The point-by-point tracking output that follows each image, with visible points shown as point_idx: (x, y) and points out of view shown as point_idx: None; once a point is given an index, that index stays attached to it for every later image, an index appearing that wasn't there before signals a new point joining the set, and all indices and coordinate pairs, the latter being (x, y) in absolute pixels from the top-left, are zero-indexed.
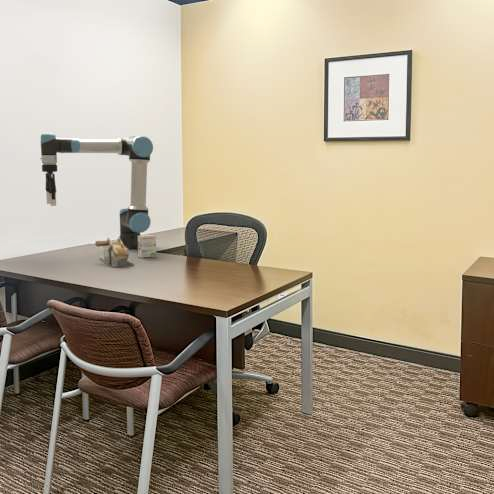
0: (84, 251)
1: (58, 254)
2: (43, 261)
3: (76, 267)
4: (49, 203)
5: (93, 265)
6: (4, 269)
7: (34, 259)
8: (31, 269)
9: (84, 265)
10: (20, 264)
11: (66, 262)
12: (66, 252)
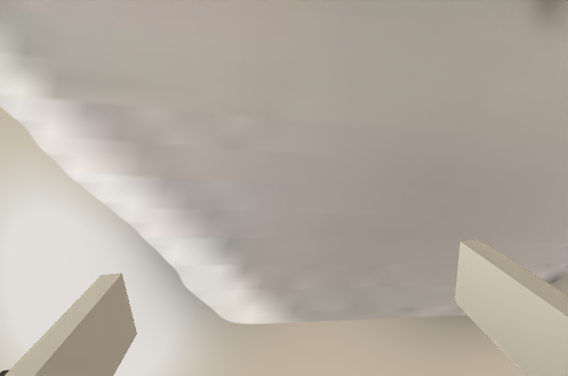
0: (176, 9)
1: (234, 140)
2: (382, 205)
3: (559, 99)
4: (127, 311)
5: (555, 27)
6: None
7: (326, 233)
8: (514, 244)
9: (536, 64)
10: (409, 275)
11: (440, 125)
12: (186, 101)
